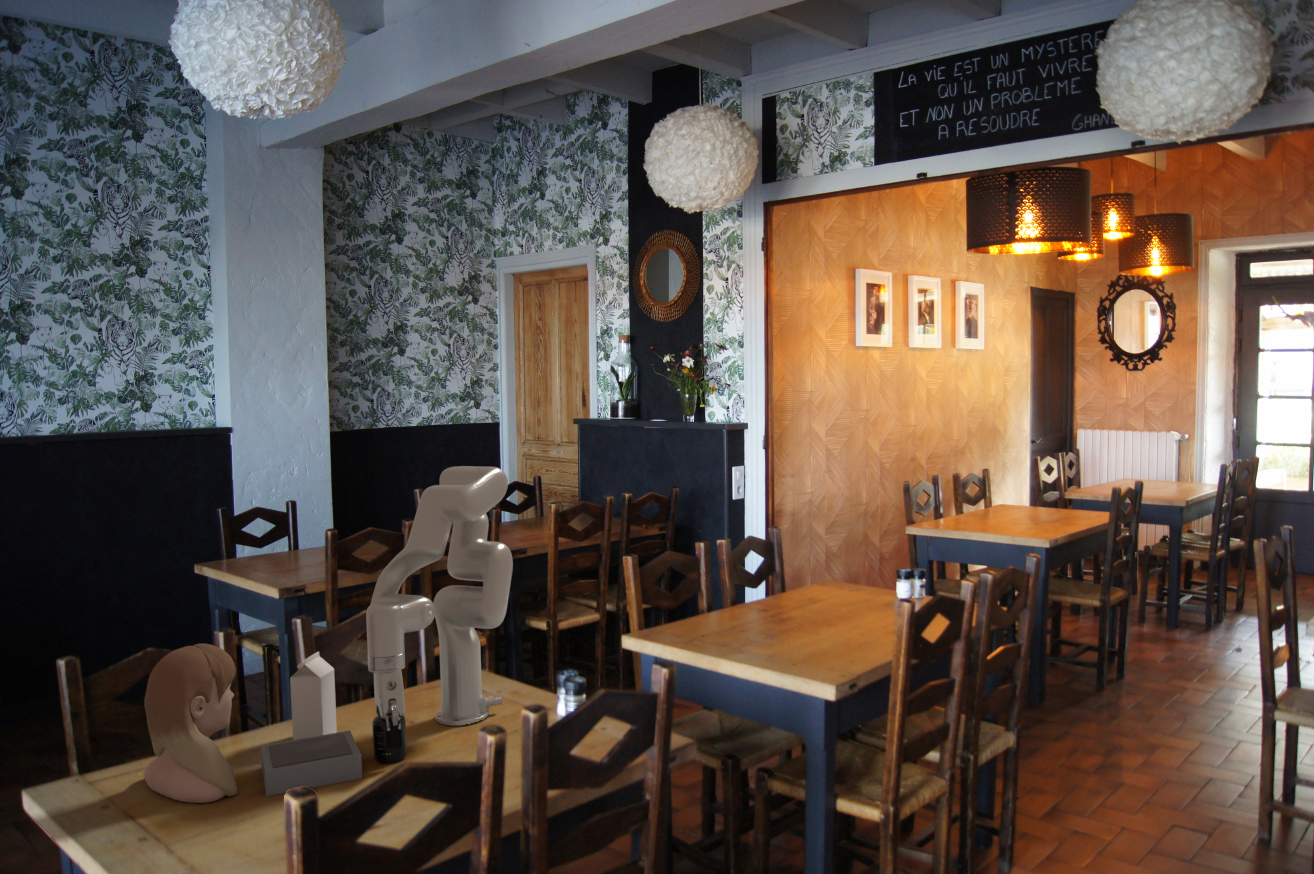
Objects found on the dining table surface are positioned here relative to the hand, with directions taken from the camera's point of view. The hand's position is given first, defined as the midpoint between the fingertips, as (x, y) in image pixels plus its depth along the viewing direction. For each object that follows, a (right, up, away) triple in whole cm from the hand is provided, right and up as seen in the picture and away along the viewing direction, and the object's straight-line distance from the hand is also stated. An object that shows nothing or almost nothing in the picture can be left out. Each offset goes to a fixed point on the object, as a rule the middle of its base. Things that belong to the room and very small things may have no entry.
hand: (389, 740), depth 203 cm
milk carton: (-21, -4, +14) cm, 25 cm away
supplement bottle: (0, -4, 0) cm, 4 cm away
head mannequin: (-35, -6, -11) cm, 38 cm away
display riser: (-14, -5, -7) cm, 16 cm away
